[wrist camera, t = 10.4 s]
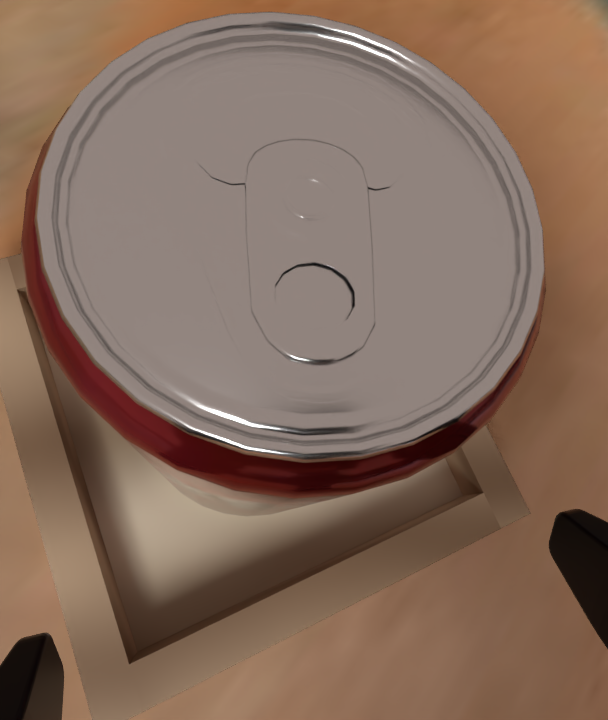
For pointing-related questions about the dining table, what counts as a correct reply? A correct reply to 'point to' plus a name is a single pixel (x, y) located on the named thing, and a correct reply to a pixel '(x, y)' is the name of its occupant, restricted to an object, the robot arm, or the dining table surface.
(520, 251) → the soda can
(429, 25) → the dining table surface
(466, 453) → the birch tray
